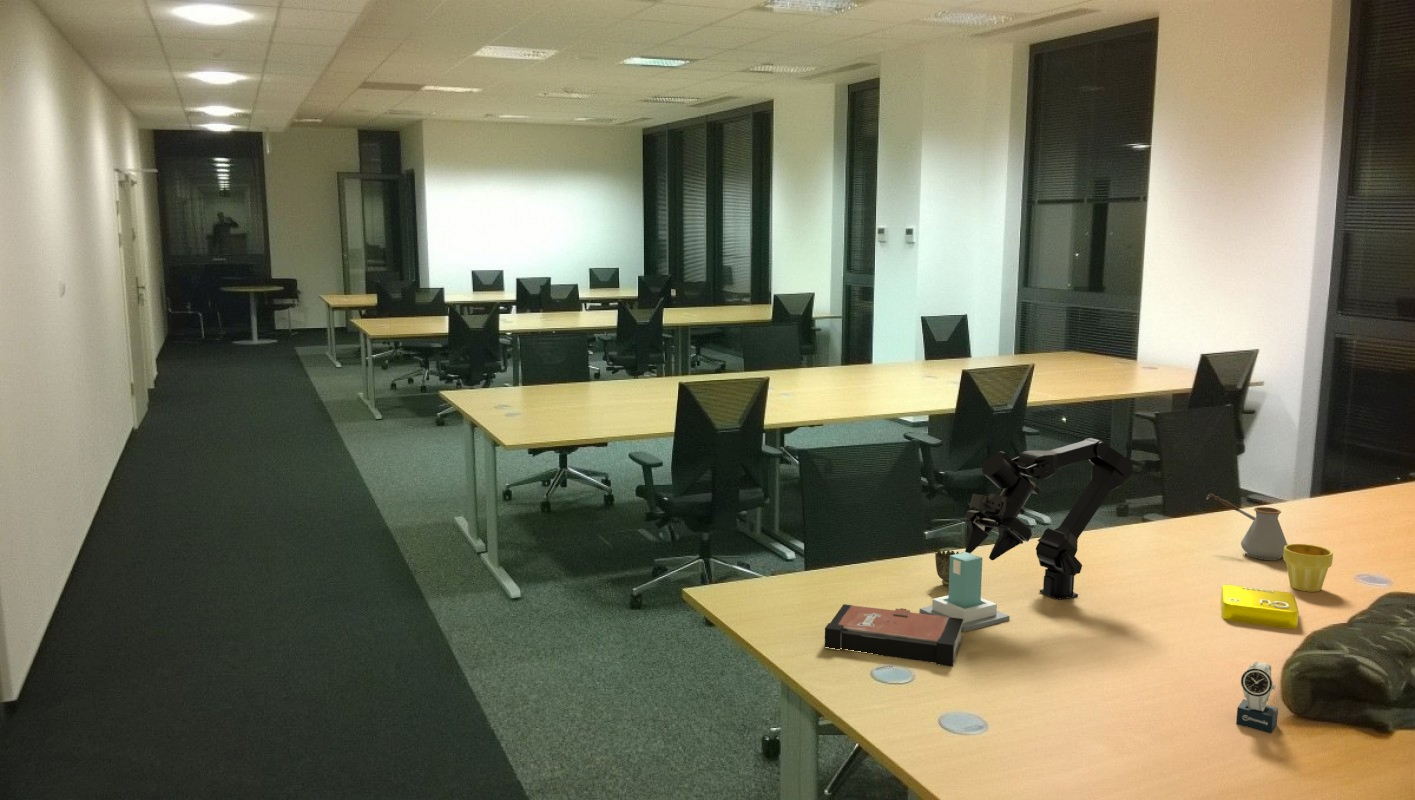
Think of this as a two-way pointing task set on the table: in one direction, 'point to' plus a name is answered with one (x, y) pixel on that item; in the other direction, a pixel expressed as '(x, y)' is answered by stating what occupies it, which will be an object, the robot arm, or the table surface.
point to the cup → (943, 565)
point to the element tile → (1259, 606)
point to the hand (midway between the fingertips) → (978, 556)
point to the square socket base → (967, 613)
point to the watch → (1257, 699)
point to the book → (895, 634)
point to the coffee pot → (1261, 532)
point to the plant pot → (1307, 566)
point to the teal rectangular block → (965, 580)
